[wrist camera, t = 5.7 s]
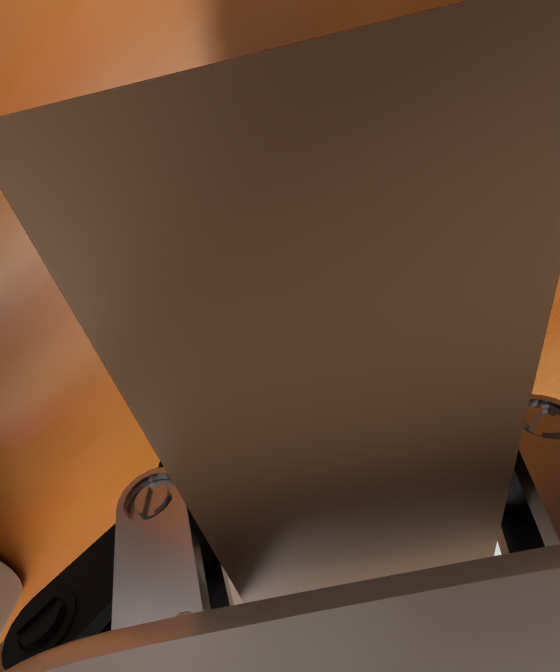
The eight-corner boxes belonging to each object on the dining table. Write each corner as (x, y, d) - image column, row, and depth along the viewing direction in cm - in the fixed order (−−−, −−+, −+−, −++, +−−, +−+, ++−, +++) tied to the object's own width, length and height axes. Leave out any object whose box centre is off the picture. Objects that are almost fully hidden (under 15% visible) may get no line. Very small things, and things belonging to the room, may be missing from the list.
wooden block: (150, 125, 8) (-38, 124, 3) (372, 71, 8) (633, -42, 2) (278, 497, 15) (294, 689, 10) (392, 474, 15) (469, 657, 10)
